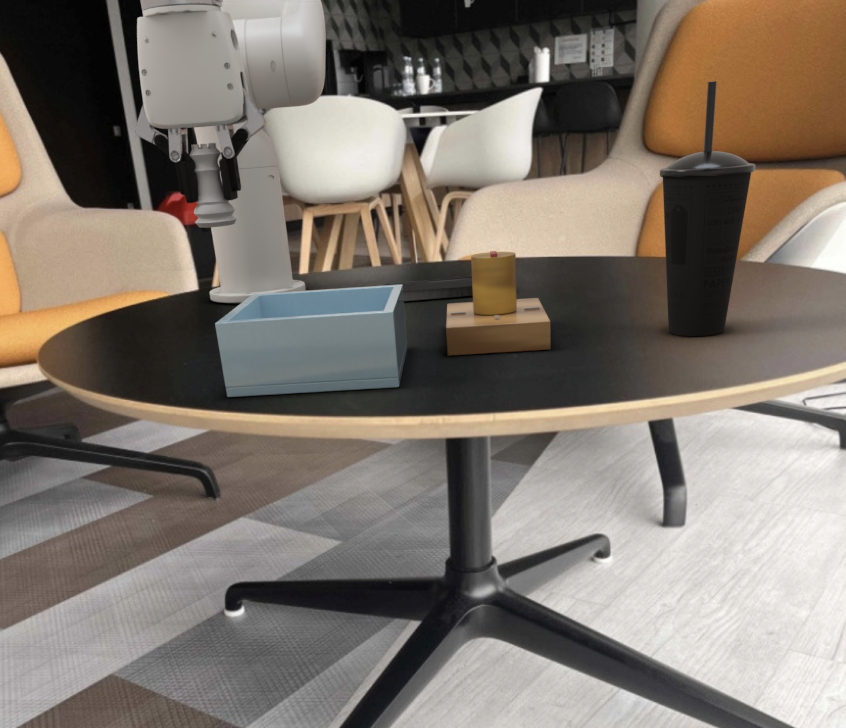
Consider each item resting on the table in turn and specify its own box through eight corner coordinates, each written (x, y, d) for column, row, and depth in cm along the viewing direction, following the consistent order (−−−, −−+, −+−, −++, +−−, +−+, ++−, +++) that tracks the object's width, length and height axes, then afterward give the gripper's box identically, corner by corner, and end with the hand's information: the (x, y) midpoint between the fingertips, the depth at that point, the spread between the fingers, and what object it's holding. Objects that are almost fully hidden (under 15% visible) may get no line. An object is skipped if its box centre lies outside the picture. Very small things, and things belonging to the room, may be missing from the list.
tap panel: (448, 328, 87) (446, 301, 86) (538, 323, 87) (538, 295, 86) (447, 356, 76) (445, 325, 75) (550, 349, 76) (550, 318, 75)
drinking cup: (746, 338, 75) (769, 75, 66) (654, 341, 76) (665, 83, 68) (736, 321, 81) (755, 79, 73) (651, 323, 83) (661, 87, 75)
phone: (511, 282, 104) (385, 292, 103) (511, 292, 104) (386, 302, 103) (500, 273, 111) (382, 283, 110) (500, 283, 111) (383, 292, 110)
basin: (261, 358, 81) (252, 294, 78) (407, 349, 80) (402, 284, 78) (227, 397, 69) (214, 323, 66) (399, 387, 68) (392, 311, 65)
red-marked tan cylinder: (473, 308, 82) (470, 250, 80) (515, 305, 82) (514, 247, 80) (473, 316, 79) (471, 255, 77) (518, 313, 79) (516, 252, 76)
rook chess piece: (219, 222, 97) (207, 143, 93) (246, 222, 94) (234, 141, 90) (187, 227, 94) (172, 146, 90) (213, 228, 91) (199, 144, 87)
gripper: (271, -3, 88) (295, 192, 96) (110, 10, 89) (147, 203, 97) (255, -13, 81) (283, 198, 89) (82, 1, 82) (124, 209, 90)
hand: (212, 198), depth 93 cm, fingers closed on rook chess piece, 3 cm apart
